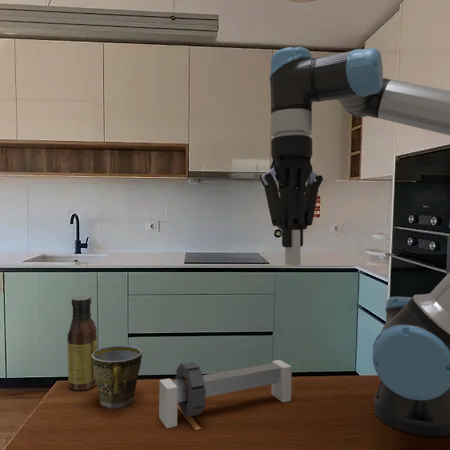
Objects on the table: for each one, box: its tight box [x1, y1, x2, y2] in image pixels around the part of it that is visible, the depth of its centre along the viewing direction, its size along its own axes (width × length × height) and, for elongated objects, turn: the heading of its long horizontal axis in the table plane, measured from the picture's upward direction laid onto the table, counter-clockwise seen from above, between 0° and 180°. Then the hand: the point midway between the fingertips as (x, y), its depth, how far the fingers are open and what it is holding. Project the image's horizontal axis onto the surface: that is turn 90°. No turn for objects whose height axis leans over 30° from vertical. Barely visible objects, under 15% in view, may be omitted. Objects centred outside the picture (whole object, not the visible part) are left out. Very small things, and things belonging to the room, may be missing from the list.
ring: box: [175, 361, 207, 417], centre depth 81 cm, size 2×9×9 cm, turn 26°
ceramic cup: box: [92, 344, 143, 410], centre depth 86 cm, size 13×10×10 cm
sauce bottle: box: [66, 295, 98, 391], centre depth 94 cm, size 7×6×20 cm
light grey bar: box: [171, 362, 282, 404], centre depth 85 cm, size 25×3×3 cm, turn 116°
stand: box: [158, 359, 293, 431], centre depth 85 cm, size 27×10×7 cm, turn 116°
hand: (292, 264), depth 79 cm, fingers closed
